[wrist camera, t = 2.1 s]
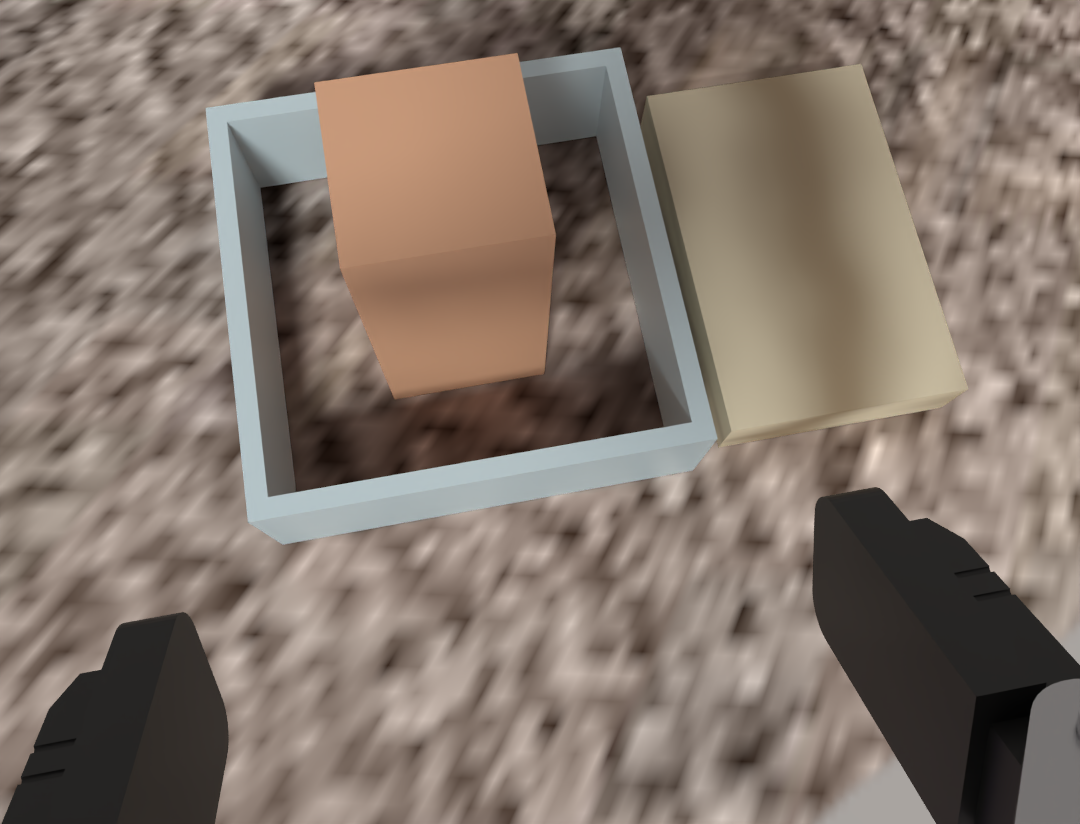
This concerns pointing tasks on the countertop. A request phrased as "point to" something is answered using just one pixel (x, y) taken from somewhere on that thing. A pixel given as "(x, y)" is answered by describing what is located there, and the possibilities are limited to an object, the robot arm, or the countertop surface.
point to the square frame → (288, 516)
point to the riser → (797, 256)
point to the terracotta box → (442, 220)
